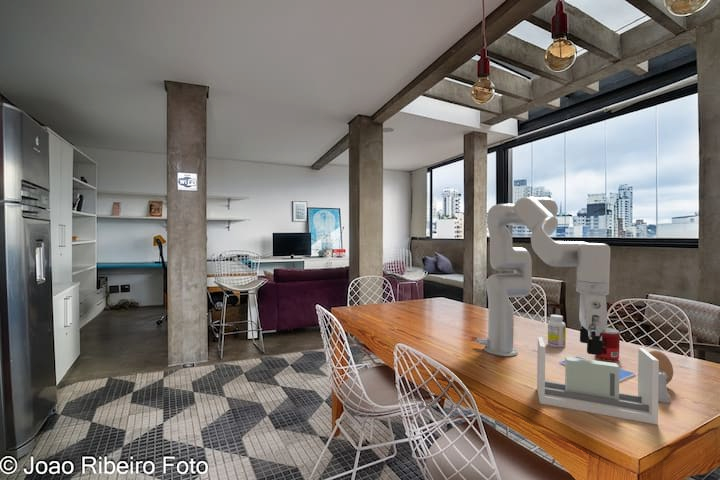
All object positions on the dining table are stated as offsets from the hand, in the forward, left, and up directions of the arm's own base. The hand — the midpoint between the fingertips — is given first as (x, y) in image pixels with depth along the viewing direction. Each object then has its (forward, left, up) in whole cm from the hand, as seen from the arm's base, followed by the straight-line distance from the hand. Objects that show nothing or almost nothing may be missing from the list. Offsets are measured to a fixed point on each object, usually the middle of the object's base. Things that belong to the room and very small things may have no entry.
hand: (590, 348), depth 94 cm
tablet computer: (+8, +31, -16) cm, 36 cm away
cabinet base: (0, 0, -16) cm, 16 cm away
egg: (+22, +24, -16) cm, 36 cm away
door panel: (0, 0, -14) cm, 14 cm away
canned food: (+14, +47, -16) cm, 51 cm away
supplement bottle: (-2, +56, -16) cm, 58 cm away
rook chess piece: (+19, +12, -16) cm, 27 cm away
